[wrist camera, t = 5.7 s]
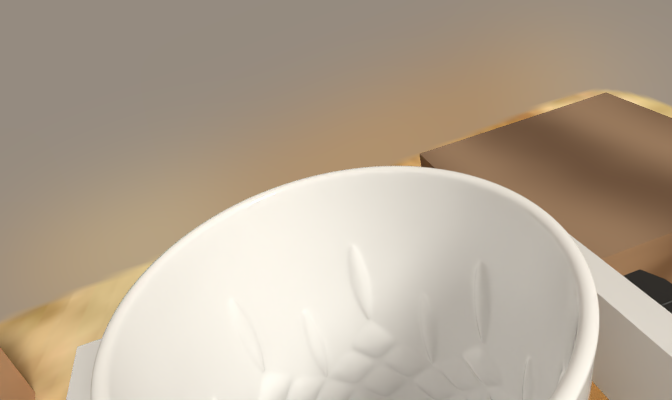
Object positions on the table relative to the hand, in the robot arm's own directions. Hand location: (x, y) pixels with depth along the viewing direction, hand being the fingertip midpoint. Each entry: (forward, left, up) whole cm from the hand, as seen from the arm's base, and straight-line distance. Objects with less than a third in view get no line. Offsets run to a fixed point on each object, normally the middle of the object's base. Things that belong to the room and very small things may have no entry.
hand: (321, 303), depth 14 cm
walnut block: (+12, +5, -6) cm, 14 cm away
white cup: (0, -4, -6) cm, 7 cm away
